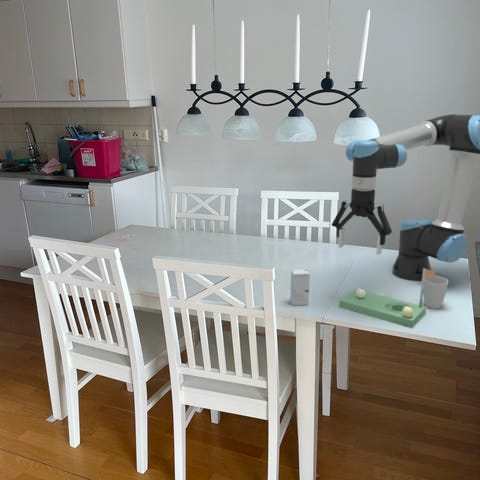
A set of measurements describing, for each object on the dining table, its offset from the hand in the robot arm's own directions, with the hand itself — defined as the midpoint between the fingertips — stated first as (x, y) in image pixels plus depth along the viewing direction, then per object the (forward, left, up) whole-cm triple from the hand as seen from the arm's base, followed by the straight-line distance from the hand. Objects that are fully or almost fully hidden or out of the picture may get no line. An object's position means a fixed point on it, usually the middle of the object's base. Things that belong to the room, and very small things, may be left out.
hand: (359, 250), depth 165 cm
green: (-3, +8, -21) cm, 23 cm away
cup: (-17, +21, -22) cm, 35 cm away
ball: (-3, 0, -17) cm, 17 cm away
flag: (-8, +21, -19) cm, 29 cm away
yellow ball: (+2, +19, -17) cm, 25 cm away
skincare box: (+9, -18, -22) cm, 29 cm away
